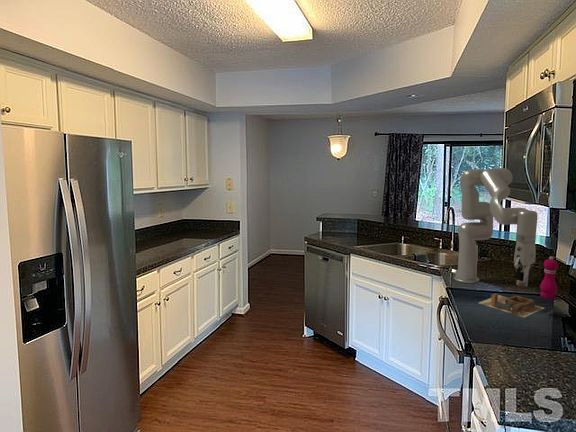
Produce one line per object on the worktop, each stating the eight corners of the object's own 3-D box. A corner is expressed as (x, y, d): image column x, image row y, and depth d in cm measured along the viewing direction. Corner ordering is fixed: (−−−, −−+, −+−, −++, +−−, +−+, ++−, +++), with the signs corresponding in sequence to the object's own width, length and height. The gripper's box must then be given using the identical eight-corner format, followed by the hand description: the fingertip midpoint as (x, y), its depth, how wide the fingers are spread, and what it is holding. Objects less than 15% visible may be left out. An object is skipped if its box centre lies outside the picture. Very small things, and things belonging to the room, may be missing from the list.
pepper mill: (540, 293, 216) (544, 253, 213) (557, 296, 212) (561, 256, 209) (537, 297, 211) (541, 256, 208) (555, 300, 206) (559, 259, 203)
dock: (477, 305, 200) (478, 296, 199) (498, 297, 211) (499, 288, 210) (524, 320, 183) (525, 310, 183) (544, 310, 194) (545, 300, 193)
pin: (490, 305, 196) (491, 294, 195) (493, 304, 198) (494, 293, 197) (508, 310, 190) (509, 299, 189) (511, 309, 191) (512, 298, 190)
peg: (514, 284, 194) (516, 262, 193) (519, 282, 197) (521, 261, 195) (524, 287, 191) (526, 264, 189) (529, 285, 193) (531, 263, 192)
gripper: (524, 242, 183) (521, 284, 185) (543, 237, 192) (540, 277, 195) (507, 239, 189) (503, 280, 191) (526, 235, 198) (523, 274, 201)
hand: (522, 278), depth 193 cm, fingers closed on peg, 4 cm apart
